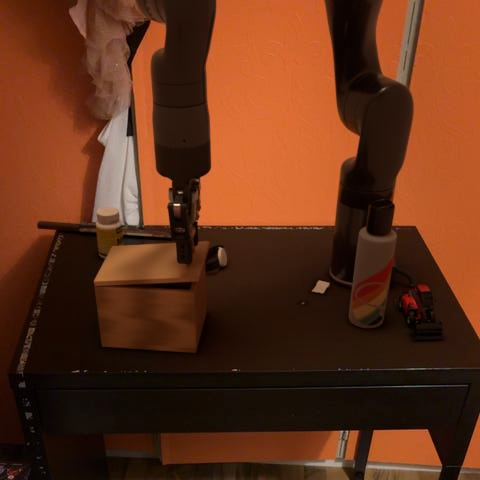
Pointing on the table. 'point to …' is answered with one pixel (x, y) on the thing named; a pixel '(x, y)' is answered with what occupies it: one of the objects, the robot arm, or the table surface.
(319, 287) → the card
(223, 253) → the watch
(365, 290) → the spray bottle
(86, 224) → the knife
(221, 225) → the table surface
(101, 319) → the brown open rectangular box
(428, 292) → the loader
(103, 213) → the supplement bottle
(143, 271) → the lid
